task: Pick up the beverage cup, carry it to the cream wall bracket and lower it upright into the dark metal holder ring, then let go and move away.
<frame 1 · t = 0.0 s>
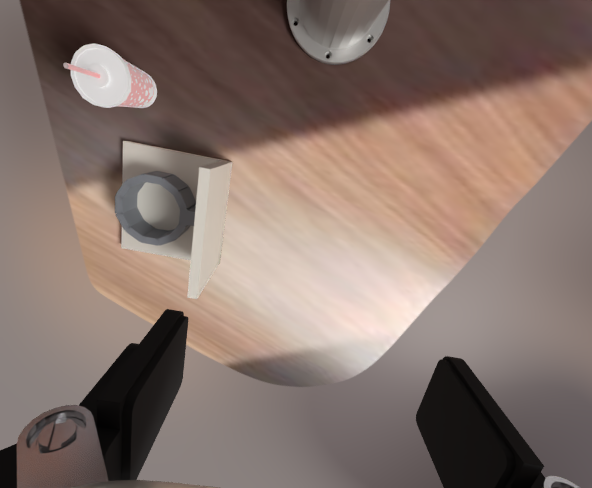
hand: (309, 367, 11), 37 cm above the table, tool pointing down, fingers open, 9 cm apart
beverage cup: (140, 89, 42), on the table
bracket: (176, 205, 47), on the table
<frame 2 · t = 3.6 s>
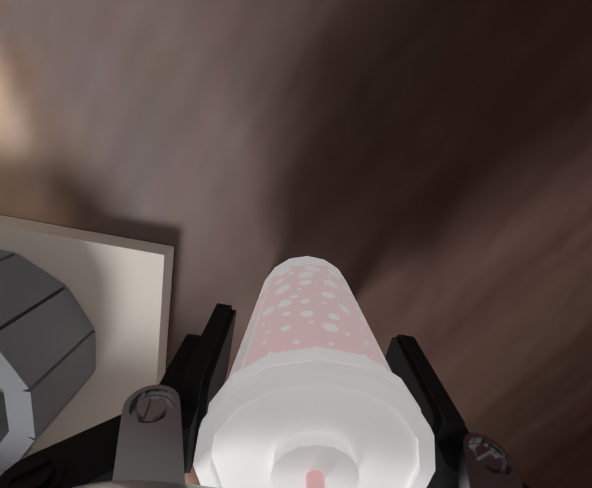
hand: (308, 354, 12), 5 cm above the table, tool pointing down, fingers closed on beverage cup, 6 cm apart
beverage cup: (305, 294, 16), on the table, touching gripper
bracket: (22, 344, 17), on the table
when the fingers open (7 cm above the table, at t = 8.3 s): beverage cup drops 1 cm, resting on bracket.
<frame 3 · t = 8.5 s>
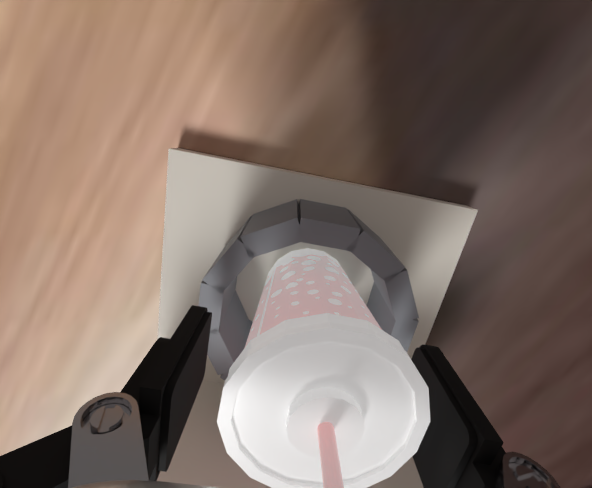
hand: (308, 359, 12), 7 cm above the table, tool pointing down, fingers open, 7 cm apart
beverage cup: (306, 285, 18), point 1 cm above the table, touching bracket
bracket: (299, 298, 19), on the table
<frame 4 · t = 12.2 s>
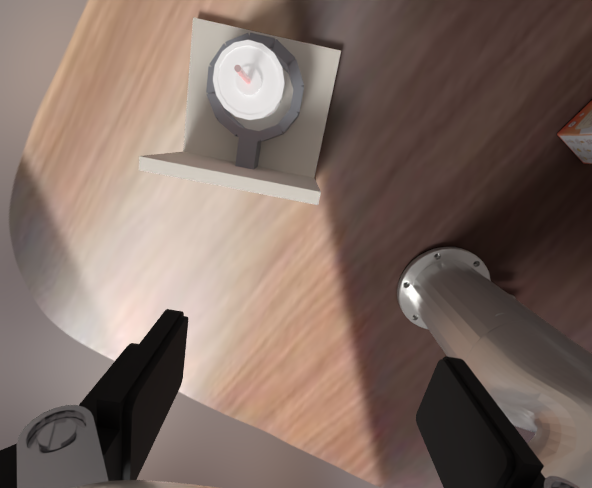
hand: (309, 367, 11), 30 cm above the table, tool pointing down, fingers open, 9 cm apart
beverage cup: (260, 95, 35), point 1 cm above the table, touching bracket
bracket: (258, 110, 36), on the table
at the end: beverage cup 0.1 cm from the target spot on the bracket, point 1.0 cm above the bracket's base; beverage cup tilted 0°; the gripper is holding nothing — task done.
